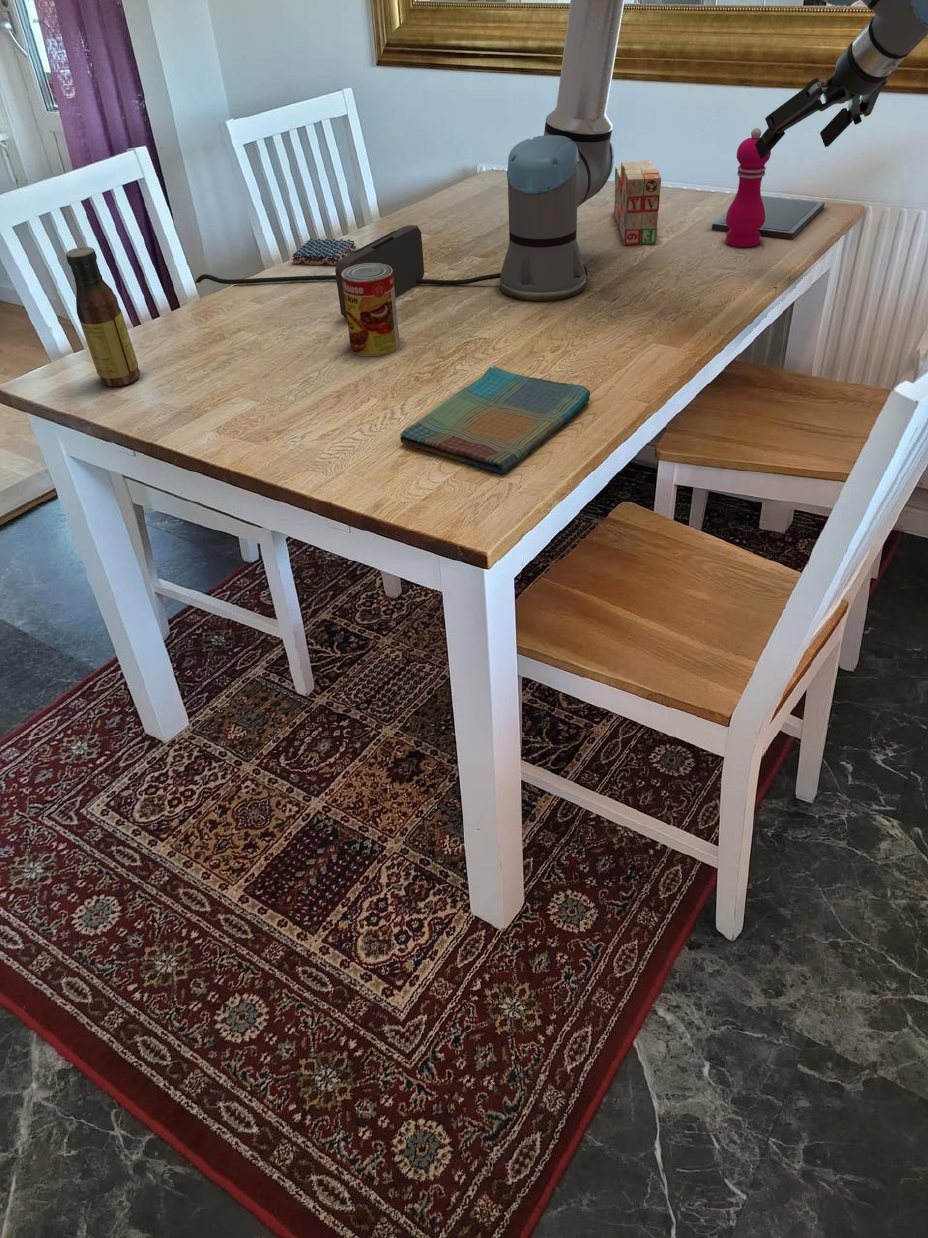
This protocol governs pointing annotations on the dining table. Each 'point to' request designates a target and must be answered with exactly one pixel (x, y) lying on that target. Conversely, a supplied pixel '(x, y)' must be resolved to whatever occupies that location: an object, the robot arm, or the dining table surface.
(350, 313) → the canned food
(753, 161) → the pepper mill
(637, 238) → the stack of blocks
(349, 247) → the woven mat
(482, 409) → the dish towel
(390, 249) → the handheld gaming console
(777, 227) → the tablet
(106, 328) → the sauce bottle
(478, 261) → the dining table surface
